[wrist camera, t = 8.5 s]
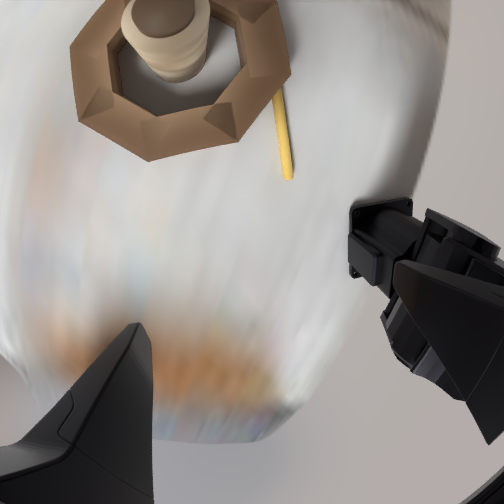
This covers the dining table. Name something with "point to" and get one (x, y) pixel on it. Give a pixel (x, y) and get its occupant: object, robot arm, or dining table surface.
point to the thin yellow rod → (282, 135)
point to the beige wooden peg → (169, 35)
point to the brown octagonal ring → (187, 121)
